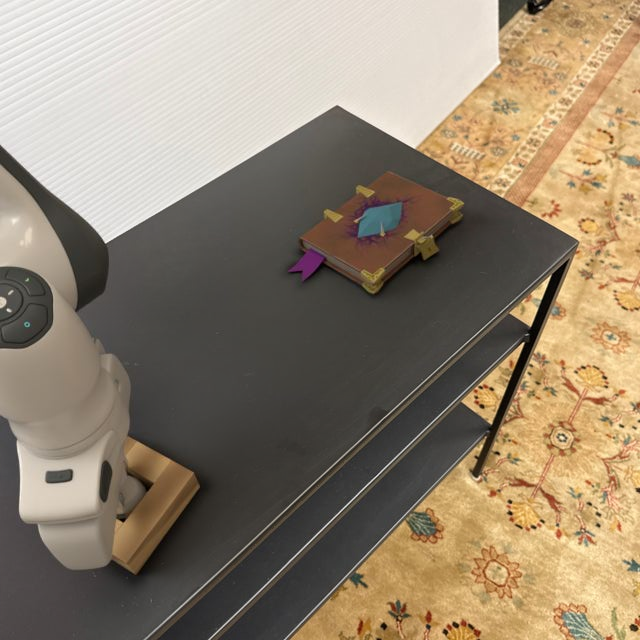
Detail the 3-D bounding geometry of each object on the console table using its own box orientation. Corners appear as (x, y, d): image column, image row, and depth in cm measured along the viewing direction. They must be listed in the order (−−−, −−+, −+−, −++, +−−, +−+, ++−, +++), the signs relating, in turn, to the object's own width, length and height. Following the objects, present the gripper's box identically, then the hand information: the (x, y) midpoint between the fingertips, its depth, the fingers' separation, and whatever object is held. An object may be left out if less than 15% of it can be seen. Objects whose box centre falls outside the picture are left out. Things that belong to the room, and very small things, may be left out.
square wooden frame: (57, 524, 69) (45, 511, 66) (125, 444, 75) (116, 429, 72) (136, 575, 65) (126, 563, 63) (200, 486, 71) (194, 472, 68)
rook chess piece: (156, 493, 70) (137, 458, 64) (129, 528, 67) (106, 495, 61) (125, 474, 71) (103, 438, 65) (97, 507, 69) (72, 474, 63)
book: (276, 270, 93) (271, 244, 89) (385, 186, 104) (385, 159, 100) (362, 323, 85) (360, 297, 81) (471, 226, 96) (474, 199, 92)
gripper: (58, 331, 63) (100, 406, 74) (14, 537, 50) (73, 592, 61) (123, 325, 63) (156, 401, 74) (95, 528, 50) (140, 585, 61)
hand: (118, 489), depth 67 cm, fingers closed on rook chess piece, 3 cm apart
